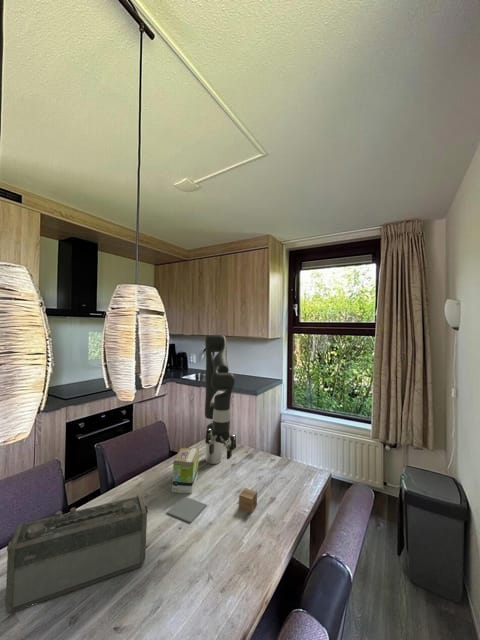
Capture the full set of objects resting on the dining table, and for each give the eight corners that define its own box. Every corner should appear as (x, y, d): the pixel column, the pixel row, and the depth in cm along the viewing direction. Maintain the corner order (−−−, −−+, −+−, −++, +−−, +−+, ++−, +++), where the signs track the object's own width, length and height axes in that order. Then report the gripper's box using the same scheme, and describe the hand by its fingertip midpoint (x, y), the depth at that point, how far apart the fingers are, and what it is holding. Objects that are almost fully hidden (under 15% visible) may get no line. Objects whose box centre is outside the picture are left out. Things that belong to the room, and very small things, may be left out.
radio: (-1, 620, 73) (2, 543, 73) (12, 575, 86) (15, 510, 86) (148, 566, 91) (151, 504, 91) (141, 536, 103) (143, 481, 104)
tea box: (192, 494, 130) (193, 462, 130) (171, 492, 130) (172, 460, 130) (198, 476, 145) (199, 447, 145) (178, 475, 145) (180, 446, 145)
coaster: (184, 497, 127) (184, 496, 127) (206, 505, 121) (206, 504, 121) (166, 513, 116) (166, 512, 116) (190, 523, 111) (190, 521, 111)
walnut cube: (244, 501, 126) (244, 487, 126) (256, 505, 123) (257, 491, 123) (238, 509, 120) (239, 495, 120) (251, 513, 118) (252, 499, 118)
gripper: (239, 419, 122) (238, 456, 122) (212, 413, 128) (211, 449, 128) (231, 424, 115) (230, 464, 115) (203, 418, 122) (201, 455, 121)
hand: (220, 456), depth 122 cm, fingers open, 8 cm apart
